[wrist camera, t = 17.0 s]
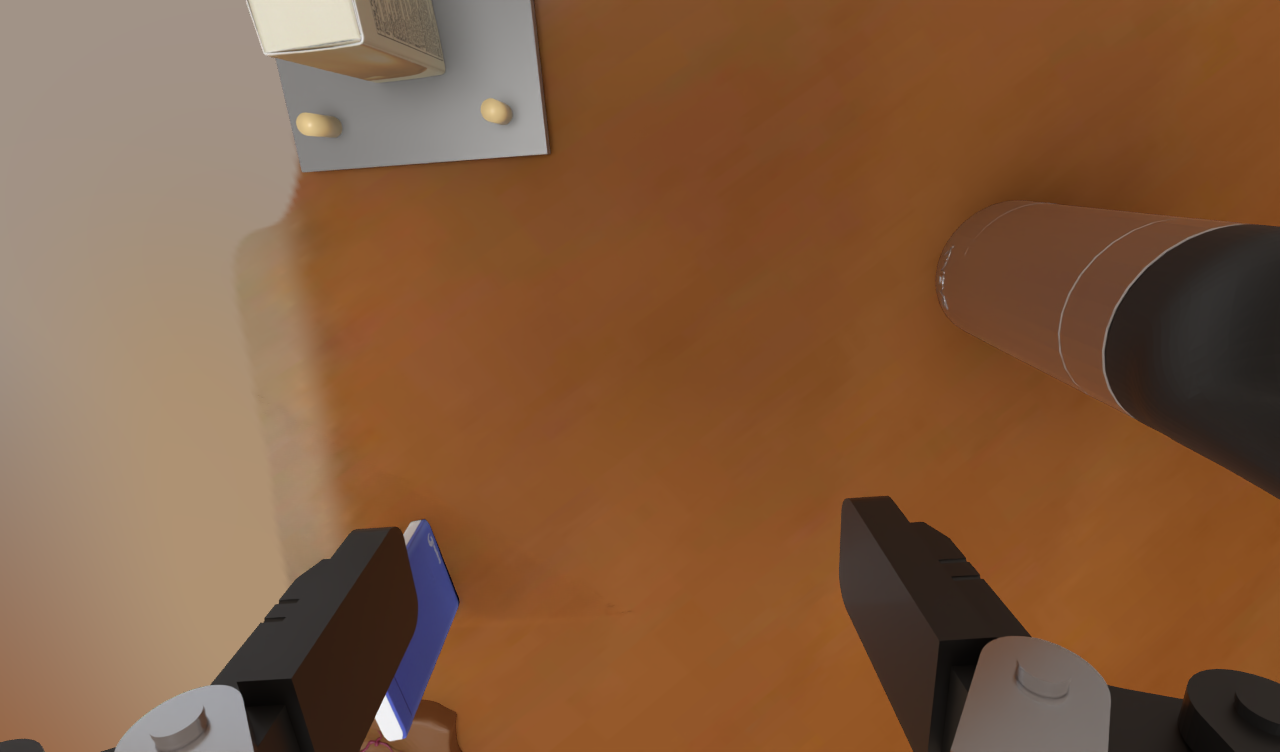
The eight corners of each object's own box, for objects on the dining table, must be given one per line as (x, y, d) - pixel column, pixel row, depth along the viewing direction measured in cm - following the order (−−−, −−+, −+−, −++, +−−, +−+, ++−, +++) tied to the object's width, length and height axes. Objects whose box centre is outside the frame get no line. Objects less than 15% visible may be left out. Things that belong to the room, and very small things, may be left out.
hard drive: (427, 517, 48) (360, 633, 36) (462, 603, 50) (410, 738, 39) (408, 521, 48) (335, 639, 36) (443, 607, 51) (385, 742, 39)
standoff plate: (518, -135, 34) (502, -176, 30) (550, 154, 39) (540, 153, 35) (249, -113, 35) (195, -151, 30) (313, 171, 40) (275, 173, 35)
